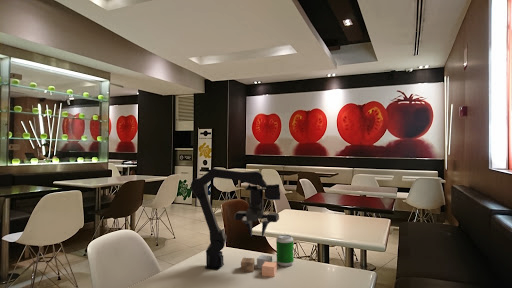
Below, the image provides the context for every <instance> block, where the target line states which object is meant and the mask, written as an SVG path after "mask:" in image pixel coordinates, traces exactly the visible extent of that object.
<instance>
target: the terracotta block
mask: <svg viewBox="0 0 512 288" xmlns="http://www.w3.org/2000/svg"><path fill="white" fill-rule="evenodd" d="M277 273H278V263H277V261H276V262H274V261H272V262H266V261H265V262H264V264H263V265H262V268H261V276H263V277H269V278H270V277H271V278H275V276H276V275H277Z"/></svg>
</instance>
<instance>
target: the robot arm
mask: <svg viewBox="0 0 512 288" xmlns="http://www.w3.org/2000/svg"><path fill="white" fill-rule="evenodd" d="M263 177H264V176H263V174H262V172H260V171H259V170H250V171H249V170H247V171H239V170H231V169H224V168H217V167H212V168H211V169H209V171H208V172H206V173H205V174H203V175H202V176H201V177H197V178H195V179H193V180H192V181H191V182H190V189H191V191H192V193H193V195H194V196H195V197H196V198H197V200H198V201H199V205H200V207H201V210H202V214H203V216H204V219H205V222H206V225H207V228H208V231H209V241H210V243H209V244H208V246H207V248H206V249H205V254H206V256H205V257H206V258H205V259H206V264H205V266H204V269H210V270H219V269H221V268H222V267H223V266H224V265H225V263H224V255H223V249H224V248H225V246H226V242H227V237H228V236H227V234H226V232H225V228H221V227H220V226H219V224H218V220H217V219H216V216H215V212H214V209H213V206H212V204H211V199H210V198H209V188H208V183H210V182H211V181H212V180H214V179H215V178H217V179H223V180H224V179H225V180H234V181H241V182H244V183H247V187H245V191H249V203H248V208H247V210H246V211H245V210H239V211H237V212H236V213H235V214H234V221H241V222H242V223H244V224H245V225H246V227H247V230H248V233H249V235H250V237H252V236H253V222H257V221H258V220H260V219H261V220H262V219H263V221H262V222H261V224H262V226H261V237H262V238H264V235H265V233H266V230H267V227H268V225H269V224H270V223H277V222H278V221H279V220H280V214H279V212H269V213H268V214H264V213H265V210H264V203H265V202H264V198H265V199H266V200H267V201H280V200H281V191H280V190H281V189H280V183H275V184H267V182H266V181H265V180H264V178H263Z"/></svg>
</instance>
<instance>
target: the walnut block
mask: <svg viewBox="0 0 512 288" xmlns="http://www.w3.org/2000/svg"><path fill="white" fill-rule="evenodd" d="M254 270H255V257H243V258H242V259H241V261H240V272H244V273H246V272H248V273H253V272H254Z"/></svg>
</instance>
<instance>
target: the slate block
mask: <svg viewBox="0 0 512 288" xmlns="http://www.w3.org/2000/svg"><path fill="white" fill-rule="evenodd" d="M265 261H266V262H273V255H266V254H261V255H259V256H258V257H257V258H256V268H257V269H258V268H259V269H262V265H263V264H264V262H265Z"/></svg>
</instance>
